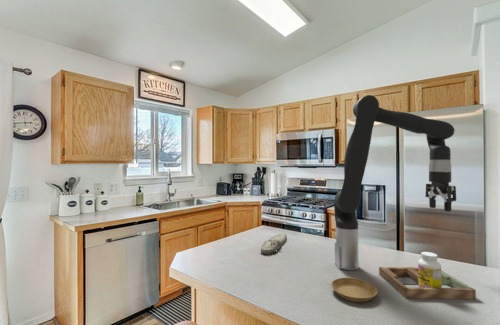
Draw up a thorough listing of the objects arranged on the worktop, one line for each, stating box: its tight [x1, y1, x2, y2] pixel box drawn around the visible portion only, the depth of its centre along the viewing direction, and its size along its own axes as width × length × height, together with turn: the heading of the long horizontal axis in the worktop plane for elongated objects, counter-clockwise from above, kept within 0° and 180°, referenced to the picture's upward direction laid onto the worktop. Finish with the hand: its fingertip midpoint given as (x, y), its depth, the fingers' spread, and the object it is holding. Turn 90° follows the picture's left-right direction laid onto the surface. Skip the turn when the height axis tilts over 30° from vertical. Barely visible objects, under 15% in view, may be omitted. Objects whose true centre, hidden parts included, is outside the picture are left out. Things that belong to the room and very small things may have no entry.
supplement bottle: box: [417, 251, 443, 288], centre depth 88 cm, size 7×7×13 cm
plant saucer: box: [330, 277, 378, 303], centre depth 86 cm, size 15×15×3 cm
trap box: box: [378, 266, 477, 300], centre depth 92 cm, size 22×18×3 cm
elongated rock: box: [260, 233, 288, 255], centre depth 141 cm, size 35×5×10 cm
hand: (439, 209), depth 104 cm, fingers open, 8 cm apart
